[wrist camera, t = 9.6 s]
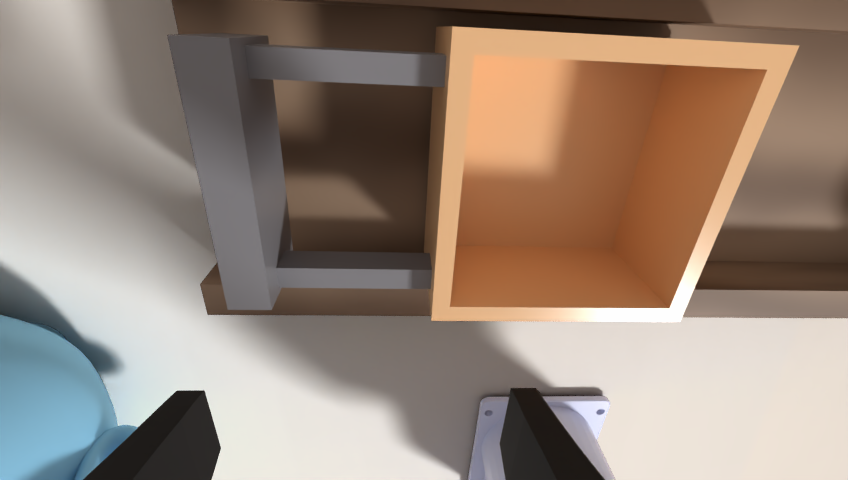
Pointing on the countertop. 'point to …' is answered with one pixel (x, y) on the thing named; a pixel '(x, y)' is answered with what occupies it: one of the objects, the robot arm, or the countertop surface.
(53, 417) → the decorative pot
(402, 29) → the bay
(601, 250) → the drawer
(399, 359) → the countertop surface
